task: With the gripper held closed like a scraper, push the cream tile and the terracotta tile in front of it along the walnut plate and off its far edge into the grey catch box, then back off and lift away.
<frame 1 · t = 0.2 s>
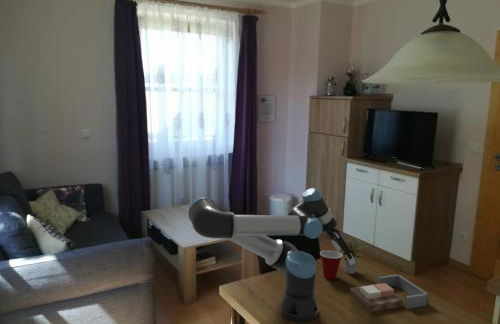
hand: (346, 256, 173), 15 cm above the table, tool tilted 35°, fingers open, 13 cm apart
terracotta tile: (383, 292, 166), point 3 cm above the table, touching walnut plate
catch box: (402, 295, 170), on the table
walnut plate: (375, 300, 165), on the table
plastic cup: (329, 276, 186), on the table
house plant: (352, 271, 193), on the table
cream tile: (370, 294, 164), point 3 cm above the table, touching walnut plate
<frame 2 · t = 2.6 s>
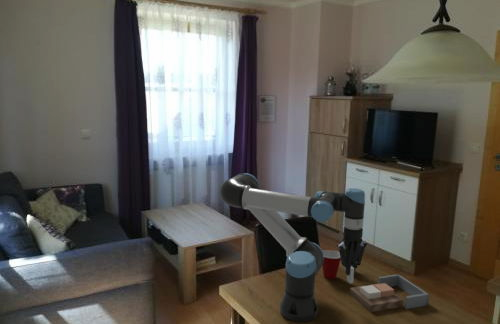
hand: (349, 281, 159), 10 cm above the table, tool pointing down, fingers closed
nothing on the table moved.
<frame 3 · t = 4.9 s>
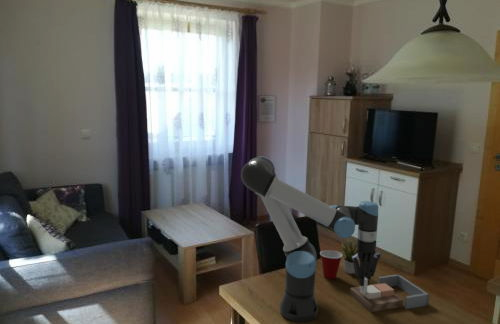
hand: (363, 292, 162), 5 cm above the table, tool pointing down, fingers closed
cream tile: (370, 294, 164), point 3 cm above the table, touching gripper, walnut plate
everything else where it was.
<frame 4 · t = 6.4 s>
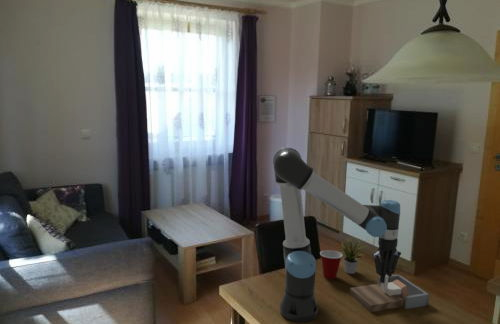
hand: (383, 289, 166), 5 cm above the table, tool pointing down, fingers closed
terracotta tile: (398, 290, 169), point 3 cm above the table, tilted 71°
cream tile: (390, 291, 167), point 3 cm above the table, touching walnut plate
everything else where it was.
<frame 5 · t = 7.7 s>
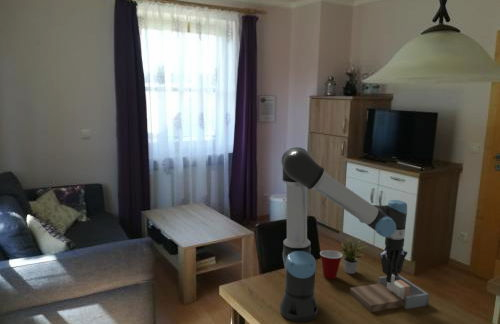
hand: (390, 288, 167), 4 cm above the table, tool pointing down, fingers closed
terracotta tile: (400, 289, 169), point 3 cm above the table, tilted 90°
cream tile: (394, 290, 168), point 3 cm above the table, tilted 90°
everything else where it was.
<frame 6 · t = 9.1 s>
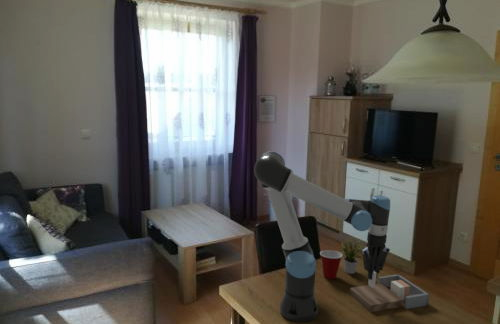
hand: (371, 285, 164), 7 cm above the table, tool pointing down, fingers closed
nothing on the table moved.
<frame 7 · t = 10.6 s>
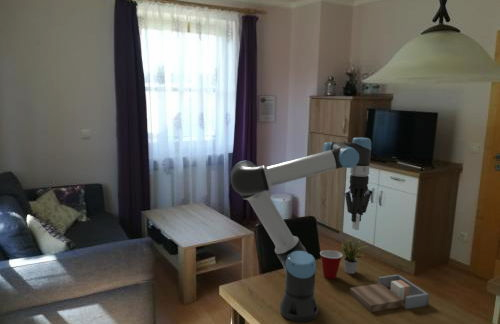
hand: (355, 228, 164), 30 cm above the table, tool pointing down, fingers closed
nothing on the table moved.
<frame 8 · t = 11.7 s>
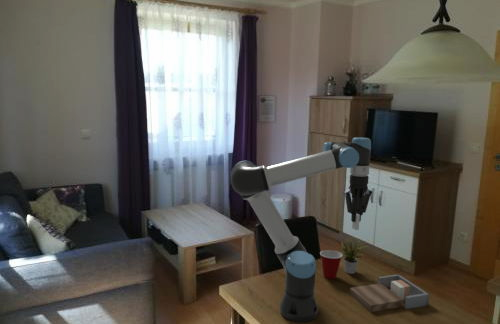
hand: (355, 228, 164), 30 cm above the table, tool pointing down, fingers closed
nothing on the table moved.
at the end: cream tile inside the target area (3.6 cm from its centre), point 2.9 cm above the table; terracotta tile inside the target area (0.9 cm from its centre), point 2.9 cm above the table; cream tile touching table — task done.
